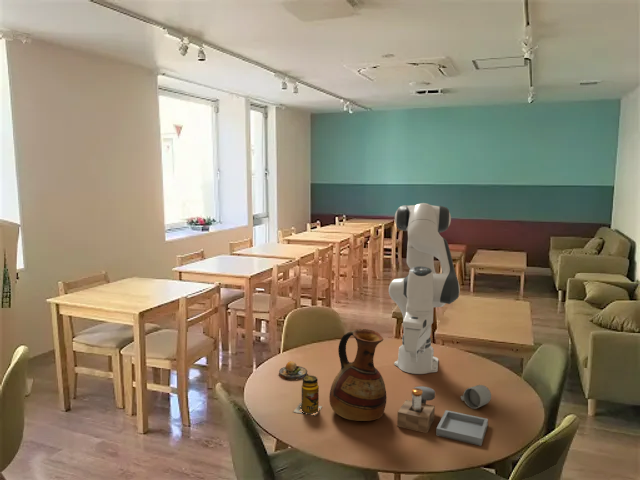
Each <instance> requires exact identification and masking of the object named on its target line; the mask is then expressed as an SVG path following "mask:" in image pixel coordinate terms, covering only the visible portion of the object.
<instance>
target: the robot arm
mask: <svg viewBox="0 0 640 480" xmlns="http://www.w3.org/2000/svg"><path fill="white" fill-rule="evenodd" d="M451 220H452V216H451V213H450V210H449V209H448V207H446V206H443V205H432V204H430V203H426V202H421V203H417V204H415V205H414V204H412V205H407V204H403V205H401V206H399V207H398V208H397V209H396V211H395V214H394V222H395V225H396V227H397V229H398V230H400V231H402V232H407V248H406V249H407V250H406V265H407V266H408V268H409V272H408V274H407V276H405V277H400V278H399V277H398V278H394V279H393V280H391V282H390V283H389V285H388V295H389V297H390V299H391V300H392V301H393V302H394V303H395V304H396V306H397V307H398V309H399V310H400V312H401V314H402V319H403V321H402V328H403V335H402V338H401V339H402V340H401V341H402V342H401V343H402V344H401V345H400V346H399V347H398V354H397V357H398V358H397V360H396V361H394V366H397V368H398V369H400V370H401V371H403V372H406V373H408V374H413V375H424V374H431V373H437V372H438V369H439V357H436V356H434V354H435V353H434V352H435V351H434V347H433V346H432V340H431V338H432V324H433V323H434V308H442V307H444V306H445V305H446V304H448V305H450V304H452V303H453V302H455V301H457V299H458V298H459V296H460V292H461V291H460V289H461V288H460V287H461V286H460V283H459V279H458V277H457V274H456V269H455V266H454V261H453V257H452V254H451V250H450V246H449V244H448V243H449V242H448V241H447V239H446V238H444V237H443V236H441V234H440V233H443V232H446V231H447V230H448V229H449V227H450V225H451V222H452V221H451ZM434 258H436V259H438V261H439V263H440V267H441V273H437V272H436V269H435V264H434V262H435V261H434Z"/></svg>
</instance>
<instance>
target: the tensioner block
mask: <svg viewBox="0 0 640 480" xmlns="http://www.w3.org/2000/svg"><path fill="white" fill-rule="evenodd" d="M414 388H418V389H421V390H422V391H423V392H422V395H421V413H419V412H415V411H412V400H408V399H406V400H405V401H404V402H403V404H402V405H401V407H400V408H399V409H398V411H397V417H396V419H397V421H396V424H397V425H396V426H397V427H400V428H403V429H408V430H410V431H412V430H413V431H416V432H421V433H425V434H427V433H428V432H429V431H430V428H431V426H432V425H433V423H434V421H435V410H436V409H435V405H433V404H432V405H431V404H428V403H427V401H433V400H434V399H435V398H436V391H435V389H433V388H431V387H429V386H423V385H422V386H421V385H420V386H415V387H413V388H412V389H414Z"/></svg>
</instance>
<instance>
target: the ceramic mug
mask: <svg viewBox="0 0 640 480" xmlns="http://www.w3.org/2000/svg"><path fill="white" fill-rule="evenodd" d="M491 399H492V393H491V390H490V389H489V388H488V387H487V386H485V385H484V384H479V385H475V386H471V387H468V388H466V389H465V390H464V391H463V394H462V395H461V396H460V400H461V401H462V402H463V401H464V403H465V405H467V407H469V408H471V409H472V410H477V409H479V408H481V407H483V406H485V405H488V403H490V401H491Z"/></svg>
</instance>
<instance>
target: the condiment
mask: <svg viewBox="0 0 640 480" xmlns="http://www.w3.org/2000/svg"><path fill="white" fill-rule="evenodd" d="M318 380H319V379H318V377H316V376H315V375H307V376H305V377H304V378H302V385H301V402H300V403H299V404H298V405H297V407H296V408H295V409H294V410H293V413H296V414H303V413H302V412H300V411H299V410H300V409H302V411H303V412H304V413H307V414H313V413H316V412H318V408H320V410H321V409H322V408H323V406H322V405H319V404H320V402H319V390H320V389H319V388H320V386H319V384H318V383H319V382H318ZM300 406H301V407H300ZM318 413H319V412H318ZM318 413H317V414H315V415H314V417H315V416H317V415H318ZM307 414H306V415H307ZM303 415H304V414H303Z"/></svg>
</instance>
